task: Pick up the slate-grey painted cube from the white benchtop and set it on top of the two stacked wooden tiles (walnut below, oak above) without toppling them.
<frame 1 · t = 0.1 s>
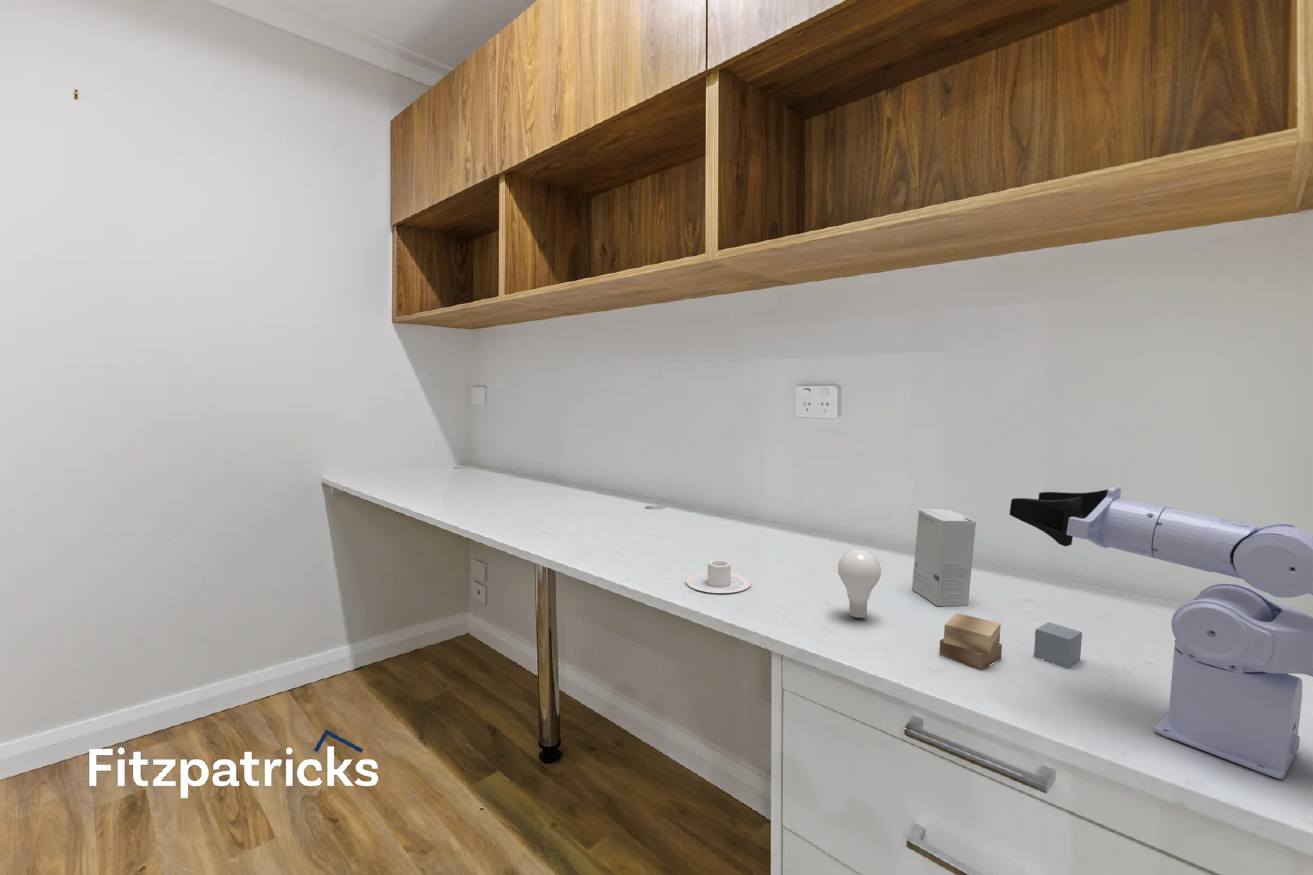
hand: (1025, 503, 75), 22 cm above the worktop, tool horizontal, fingers open, 7 cm apart
candle holder: (718, 586, 109), on the worktop
lower tile: (969, 659, 80), on the worktop, touching upper tile
cube: (1056, 659, 79), on the worktop
skincare box: (940, 599, 101), on the worktop
lightbulb: (857, 619, 93), on the worktop
upper tile: (971, 641, 80), point 2 cm above the worktop, touching lower tile
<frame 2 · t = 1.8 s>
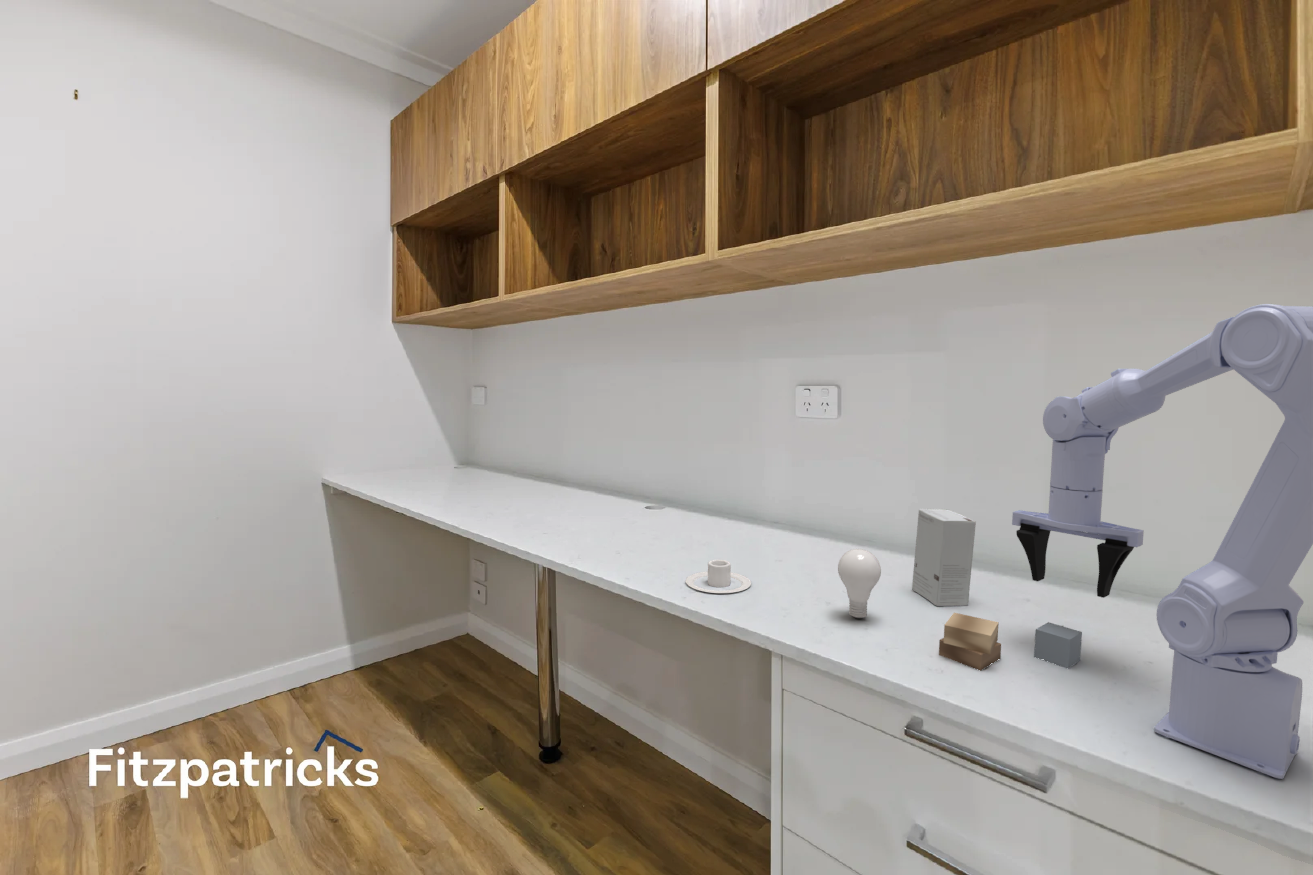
hand: (1069, 587, 80), 9 cm above the worktop, tool pointing down, fingers open, 7 cm apart
nothing on the worktop moved.
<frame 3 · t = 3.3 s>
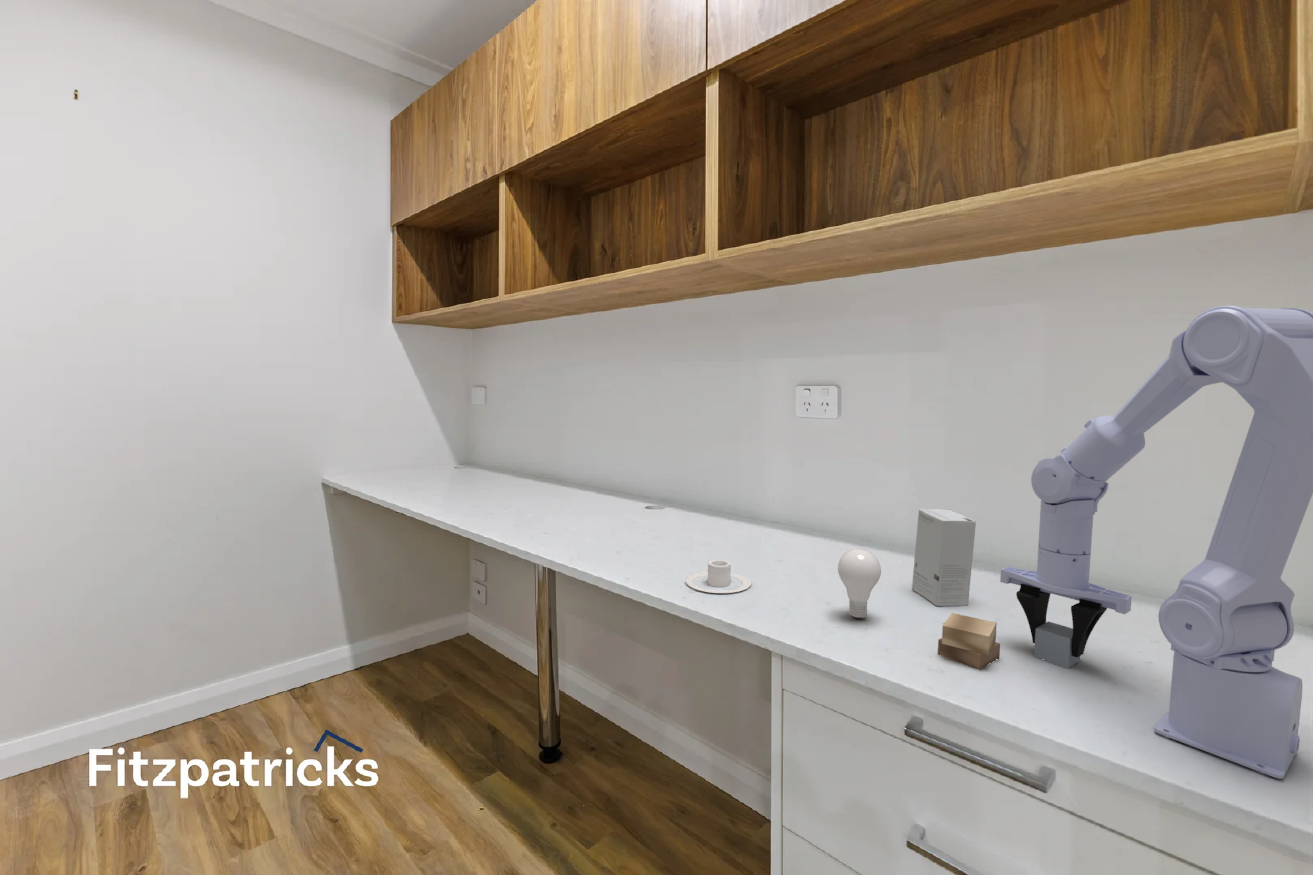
hand: (1057, 648, 79), 1 cm above the worktop, tool pointing down, fingers closed on cube, 4 cm apart
lower tile: (968, 659, 80), on the worktop
cube: (1056, 658, 79), on the worktop, touching gripper
upper tile: (968, 641, 80), point 2 cm above the worktop
everything else where it was.
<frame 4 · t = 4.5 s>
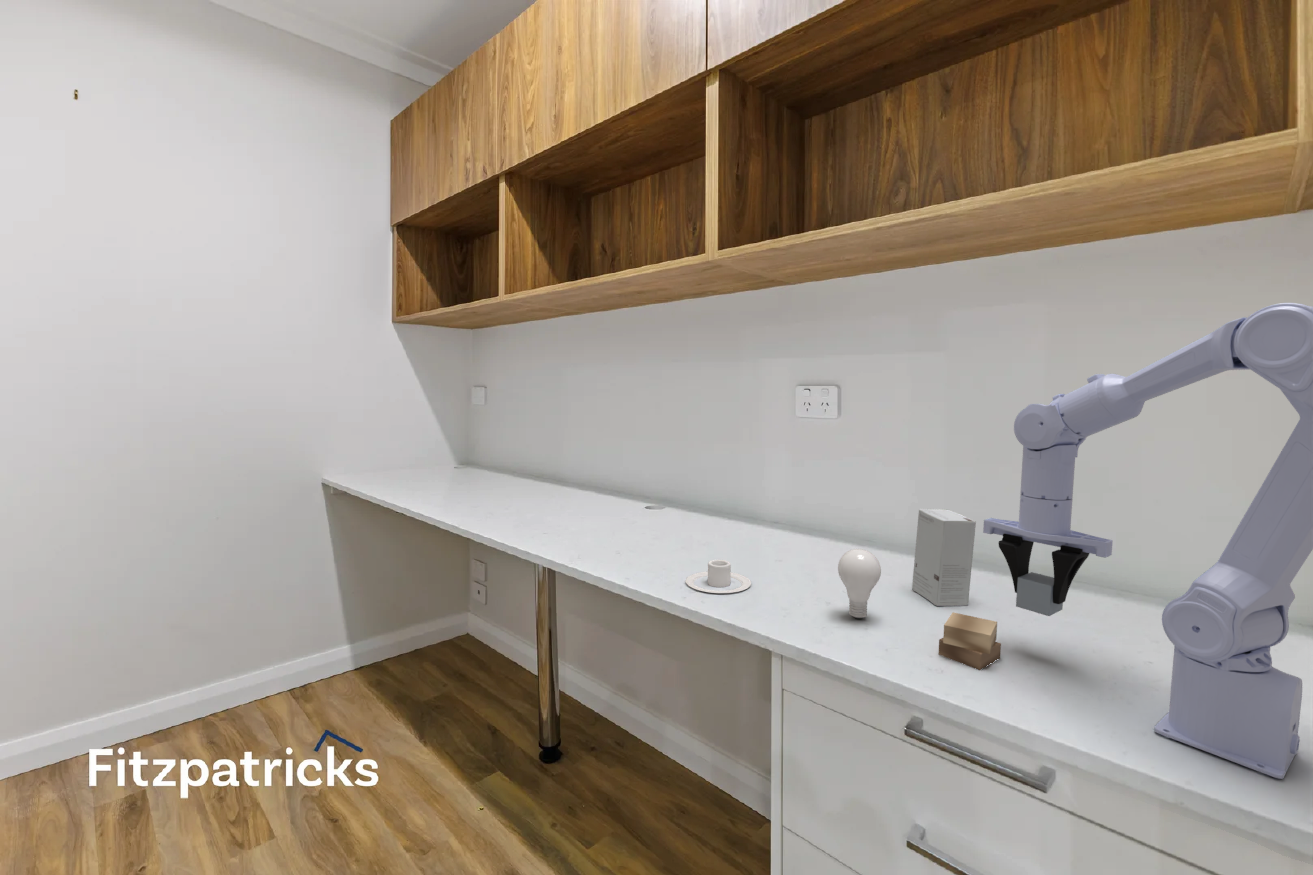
hand: (1039, 596, 79), 8 cm above the worktop, tool pointing down, fingers closed on cube, 4 cm apart
lower tile: (969, 659, 80), on the worktop, touching upper tile
cube: (1038, 607, 79), point 7 cm above the worktop, touching gripper
upper tile: (969, 641, 80), point 2 cm above the worktop, touching lower tile
everything else where it was.
when the fingers open (7 cm above the worktop, at t = 5.8 s): cube drops 1 cm, resting on upper tile.
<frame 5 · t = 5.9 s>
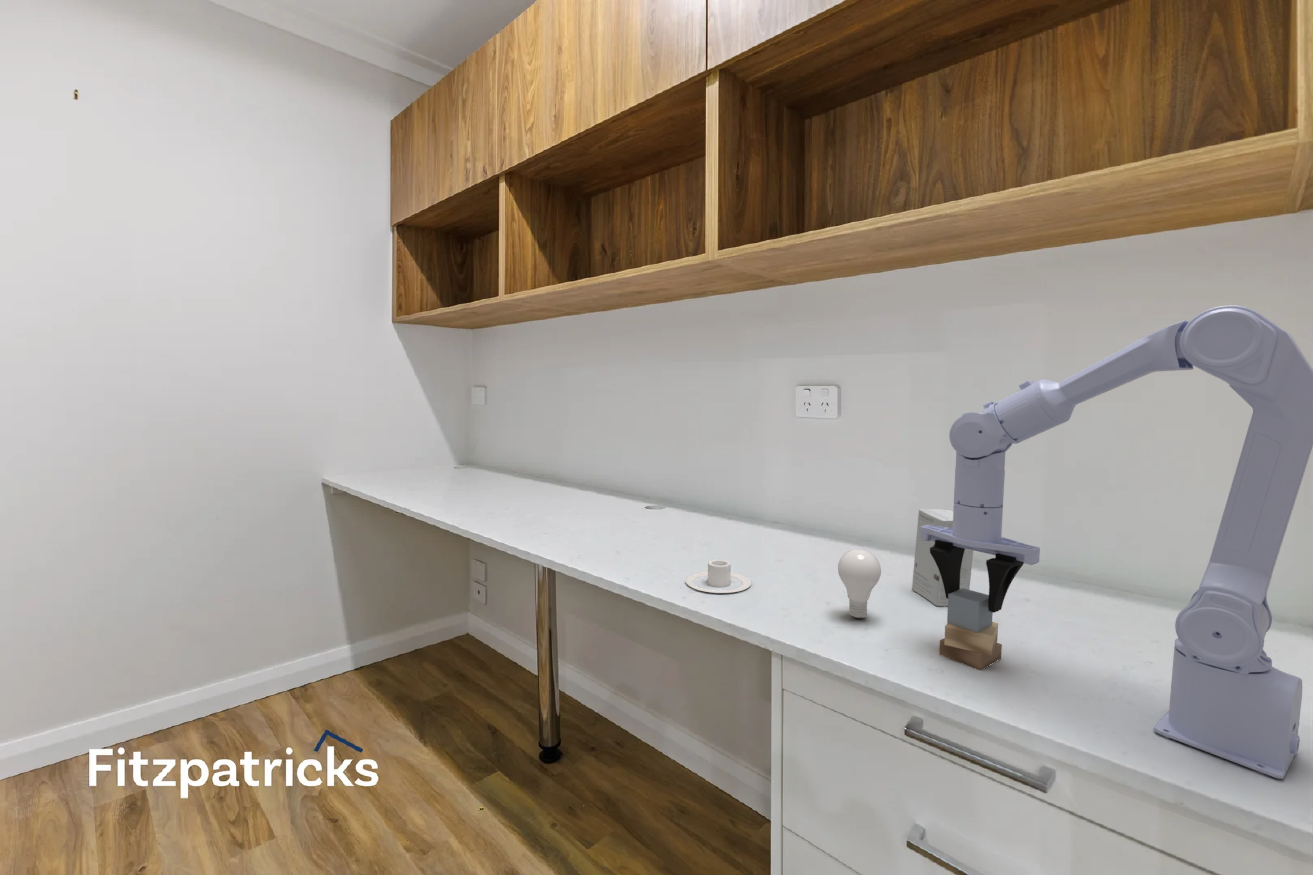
hand: (972, 603, 79), 7 cm above the worktop, tool pointing down, fingers open, 5 cm apart
cube: (969, 624, 79), point 5 cm above the worktop, touching upper tile
upper tile: (971, 642, 79), point 2 cm above the worktop, touching cube, lower tile
everything else where it was.
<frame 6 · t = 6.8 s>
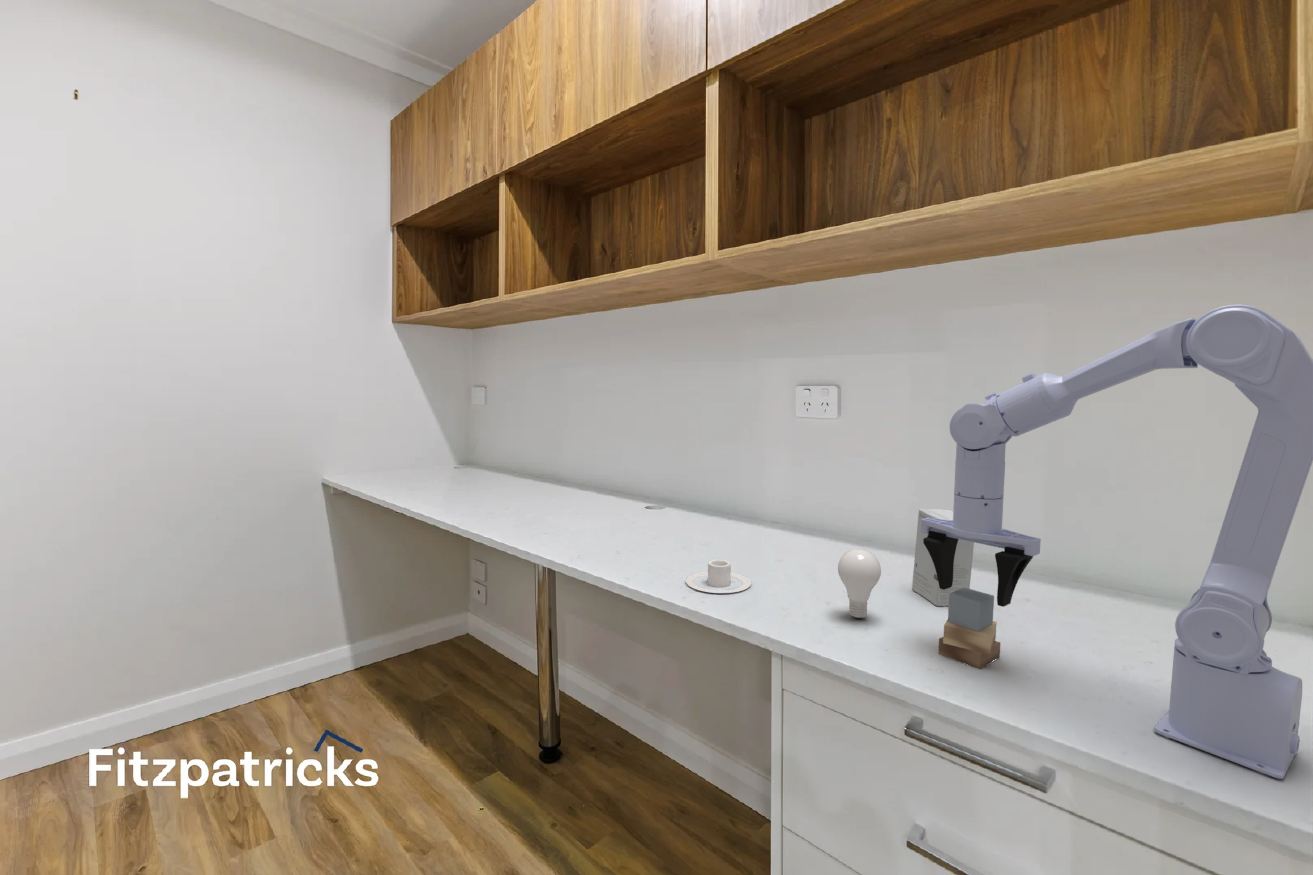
hand: (973, 595, 79), 9 cm above the worktop, tool pointing down, fingers open, 7 cm apart
nothing on the worktop moved.
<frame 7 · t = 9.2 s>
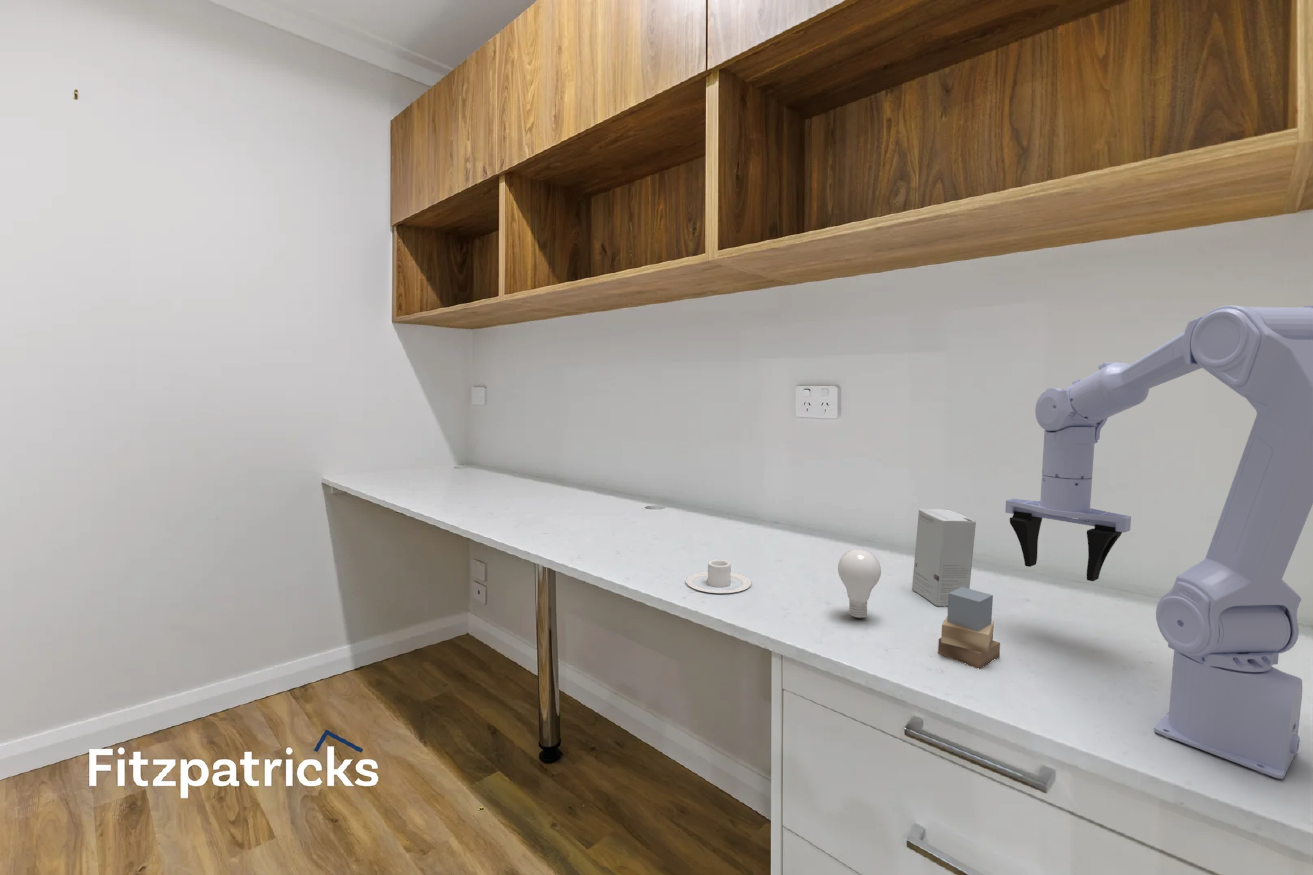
hand: (1060, 572, 83), 10 cm above the worktop, tool pointing down, fingers open, 7 cm apart
nothing on the worktop moved.
at the end: cube 0.1 cm off-centre on the upper tile, point 2.5 cm above the upper tile's base; cube tilted 0°; upper tile moved 0.8 cm from its start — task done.
